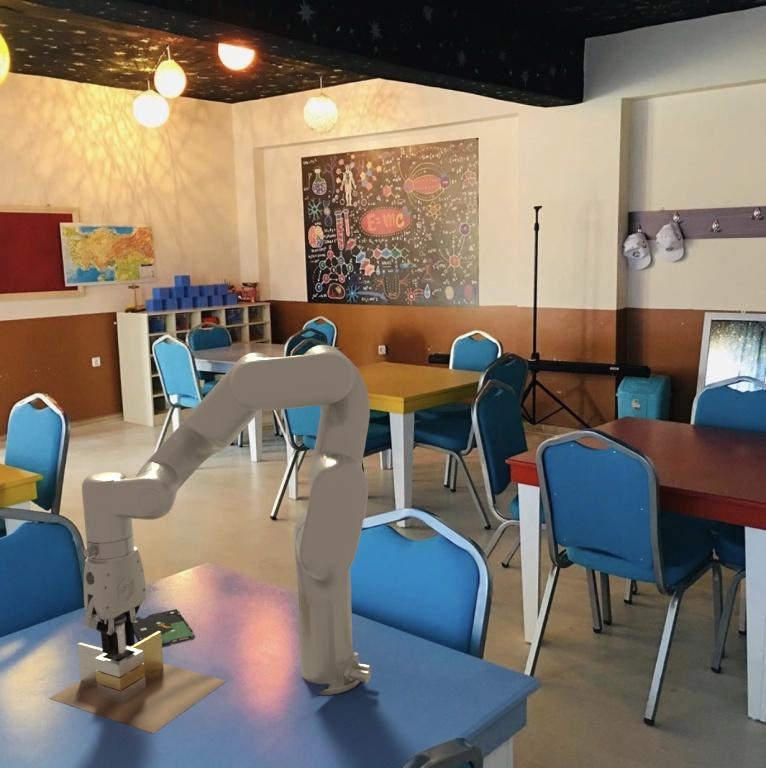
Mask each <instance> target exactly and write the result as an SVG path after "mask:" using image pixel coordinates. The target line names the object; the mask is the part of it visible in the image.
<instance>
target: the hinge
mask: <svg viewBox="0 0 766 768" xmlns="http://www.w3.org/2000/svg"><path fill="white" fill-rule="evenodd" d="M77 650H78V651H77V652H78V663H79V675H80V680H81V681H84V682H87V683H90V684H93V685H96V686H97V689H98V696H99V697H102V698H105V699H108V700H111V701H114V702H117V703H121V704H122V703H124V702H126V701H127V700H129V699H130V698H132V697H133V696H135V695H136V694H138V693H140V692H141V691H143V690H144V689H146V683H145V679H146V678H148V677H149V676H151V675H153V674H154V673H156V672H157V671H159V670H161V669H162V668H164V667H163V663H164V657H163V656H164V653H163V646H162V639H161V632H160V631H158V632H156V633H154V634H152V635H151V636H149V637H147V638H145V639H144V640H142V641H140V642H139V641H138V642H137V643H136V642H135V645H133V646H127V657H126V658H125V659H123V660H121V661H120V662H117V661H114V660H112V659H111V655H110V654H106V653H104V652H103V650H102V647H98V646H94V645H91V644H87V643H83V642H79V643H77Z"/></svg>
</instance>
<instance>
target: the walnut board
mask: <svg viewBox="0 0 766 768" xmlns="http://www.w3.org/2000/svg"><path fill="white" fill-rule="evenodd" d="M163 667H164V668H162V669H161V670H159V671H157V672H156V673H154V674H153V675H151V676H149V677H148V678H146V679H145V683H146V689H144V690H143V691H141V692H140V693H138V694H136V695H135V696H133V697H132V698H130V699H129V700H127V701H126V702H124V703H122V704H121V703H117V702H114V701H111V700H108V699H105V698H102V697H99V696H98V689H97V686H96V685H93V684H90V683H87V682H84V681H81V679H80V680H78V681H77V682H75V683H73V684H71V685H69V686H68V687H66V688H65V689H62V690H61V691H60V692H58V693H56V694H54V695H52V696H51V697H49V699H50V700H52V701H55V702H59V703H62V704H65V705H68V706H70V707H73V708H76V709H79V710H83V711H85V712H89V713H91V714H94V715H97V716H100V717H103V718H105V719H108V720H112V721H114V722H115V721H116V722H119V723H121V724H124V725H126V726H131V727H133V728H136V729H138V730H142V731H145V732H148V733H150V734H156V732H158V731H159V730H161V729H162V728H163V727H165V726H166V725H168V724H169V723H171V722H172V721H173V720H174V719H176V718H177V717H179V716H180V715H181V714H183V713H184V712H186V711H187V710H189V709H190V708H192V707H193V706H194V705H196V704H197V703H198V702H200V701H201V700H202V699H204V698H206V697H207V696H208V695H210V694H211V693H212V692H214V691H216V690H217V689H218V688H219V687H221V686H222V685H224V684H225V683H226V682H228V681H227V680H225V679H224V680H223V679H220V678H217V677H213V676H210V675H206V674H203V673H198V672H195V671H192V670H188V669H185V668H181V667H178V666H173V665H171V664H168V663H164V662H163Z"/></svg>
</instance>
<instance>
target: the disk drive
mask: <svg viewBox="0 0 766 768" xmlns="http://www.w3.org/2000/svg"><path fill="white" fill-rule="evenodd" d="M133 626H134V636H135V637H136V638H137V640H138V642H140V641H142V640H144V639H145V638H147V637H149V636H151V635H152V634H154V633H156V632H158V631H160V632H161V639H162V647H165V646H168V645H174V644H178V643H181V642H186V641H190V640H193V639H194V640H195V639H196V636H195V633H194V631H193V630H192V628H191V627H190V626H189V624H188V622H187V621H186V620H185V618H184V617H183V615H182V614H181V612H180V611H179V609H177V608H175V609H174V608H173V609H171V610H166V611H161V612H156V613H151V614H149V615H148V616H146V617H145V618H142V617H139V616H138V617H137V616H136V621H135V622H134V623H133Z"/></svg>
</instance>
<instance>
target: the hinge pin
mask: <svg viewBox="0 0 766 768" xmlns="http://www.w3.org/2000/svg"><path fill="white" fill-rule="evenodd" d="M126 621H127V618H126V614H124V613H123V614H121V615H119V616H117V617H115V618H114V632H116V633H117V638H118V650H119V653H118V655H116V656H113V655H111V659H112V660H114V661H117V662H120V661H121V660H123V659H125V658H126V657H127V647H128V645H126V630H125V622H126Z"/></svg>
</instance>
